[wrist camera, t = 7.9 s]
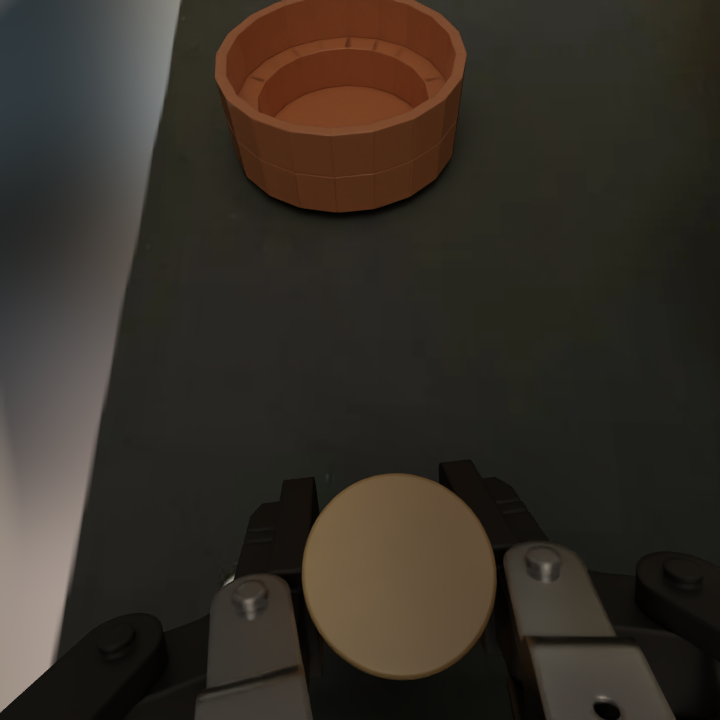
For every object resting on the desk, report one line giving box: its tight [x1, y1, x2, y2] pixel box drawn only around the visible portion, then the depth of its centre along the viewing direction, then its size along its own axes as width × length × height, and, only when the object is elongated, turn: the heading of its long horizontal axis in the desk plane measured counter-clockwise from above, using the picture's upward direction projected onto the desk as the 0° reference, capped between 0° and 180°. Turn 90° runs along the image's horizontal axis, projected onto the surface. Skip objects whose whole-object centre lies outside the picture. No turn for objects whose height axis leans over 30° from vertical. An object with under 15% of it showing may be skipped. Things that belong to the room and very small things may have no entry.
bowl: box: [215, 0, 467, 213], centre depth 31 cm, size 13×13×6 cm
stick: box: [302, 473, 497, 680], centre depth 13 cm, size 3×3×12 cm
